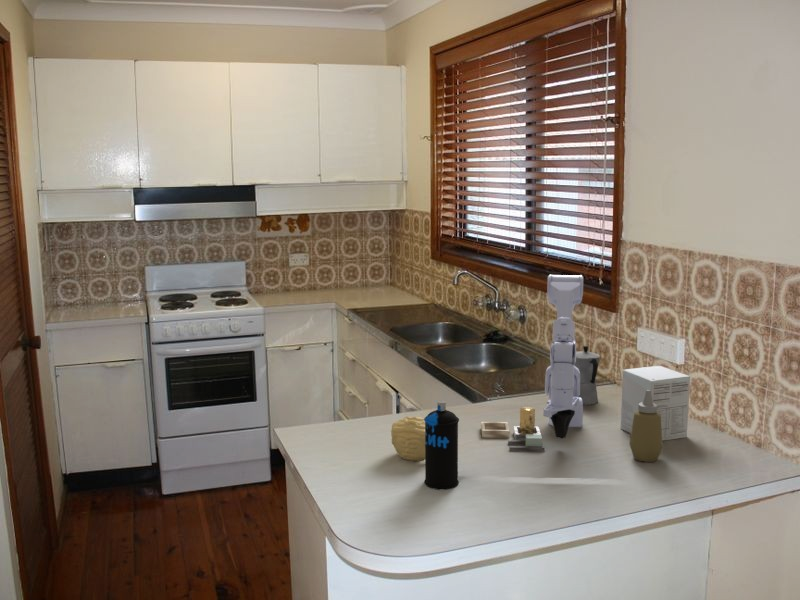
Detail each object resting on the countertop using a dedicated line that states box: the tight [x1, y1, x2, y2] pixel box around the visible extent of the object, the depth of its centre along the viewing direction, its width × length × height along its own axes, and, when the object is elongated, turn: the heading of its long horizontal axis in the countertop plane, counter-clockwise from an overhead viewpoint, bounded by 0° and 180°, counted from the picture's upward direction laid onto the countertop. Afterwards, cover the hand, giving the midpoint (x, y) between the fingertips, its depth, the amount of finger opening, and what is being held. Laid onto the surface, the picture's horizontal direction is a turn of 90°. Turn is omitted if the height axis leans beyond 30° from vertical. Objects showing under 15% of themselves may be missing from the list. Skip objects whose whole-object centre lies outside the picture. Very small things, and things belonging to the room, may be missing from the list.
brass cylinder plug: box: [519, 406, 536, 434], centre depth 214 cm, size 4×4×8 cm
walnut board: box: [507, 439, 546, 452], centre depth 213 cm, size 17×19×2 cm
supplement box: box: [620, 365, 691, 442], centre depth 219 cm, size 13×13×18 cm
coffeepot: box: [572, 345, 601, 406], centre depth 248 cm, size 15×9×18 cm, turn 9°
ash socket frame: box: [480, 421, 511, 439], centre depth 218 cm, size 7×7×2 cm
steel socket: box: [512, 425, 542, 440], centre depth 214 cm, size 7×7×2 cm
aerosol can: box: [423, 400, 460, 490], centre depth 185 cm, size 8×8×20 cm
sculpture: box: [390, 416, 425, 462], centre depth 203 cm, size 12×12×11 cm
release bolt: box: [524, 434, 543, 447], centre depth 206 cm, size 4×3×3 cm
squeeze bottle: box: [629, 390, 663, 463], centre depth 200 cm, size 8×8×18 cm
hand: (560, 437), depth 206 cm, fingers closed
